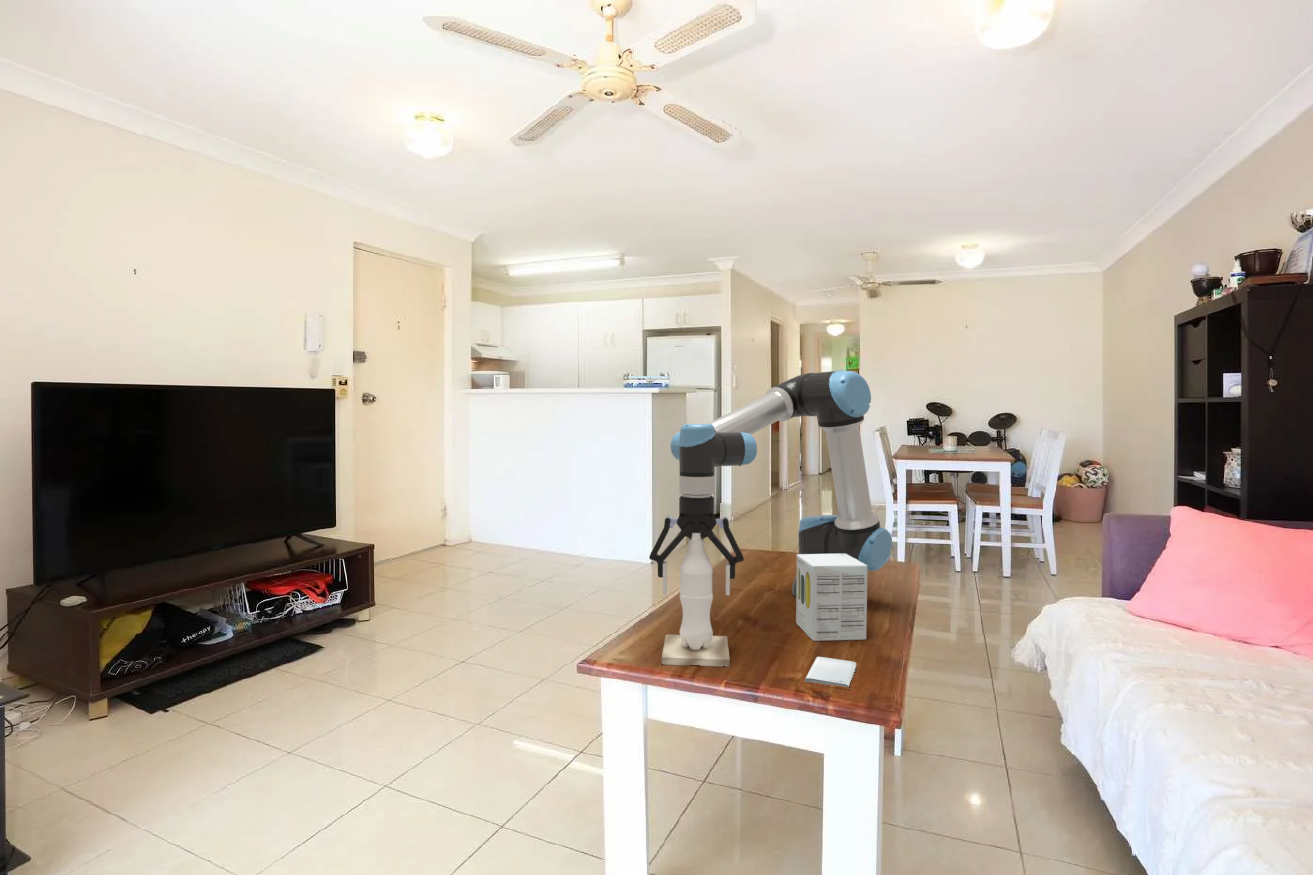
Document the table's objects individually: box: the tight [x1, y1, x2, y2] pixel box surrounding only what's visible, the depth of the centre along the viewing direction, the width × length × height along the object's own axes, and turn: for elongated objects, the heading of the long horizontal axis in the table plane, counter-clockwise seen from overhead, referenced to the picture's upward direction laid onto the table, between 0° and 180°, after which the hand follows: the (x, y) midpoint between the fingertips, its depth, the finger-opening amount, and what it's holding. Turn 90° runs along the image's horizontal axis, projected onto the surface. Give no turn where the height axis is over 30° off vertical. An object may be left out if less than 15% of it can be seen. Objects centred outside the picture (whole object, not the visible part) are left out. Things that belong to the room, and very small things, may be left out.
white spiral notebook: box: [804, 656, 858, 687], centre depth 127 cm, size 2×8×12 cm
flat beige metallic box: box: [661, 634, 731, 668], centre depth 139 cm, size 14×14×2 cm
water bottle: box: [679, 533, 714, 650], centre depth 138 cm, size 7×7×25 cm
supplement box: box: [795, 553, 868, 642], centre depth 153 cm, size 13×13×18 cm
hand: (696, 593), depth 138 cm, fingers open, 13 cm apart
